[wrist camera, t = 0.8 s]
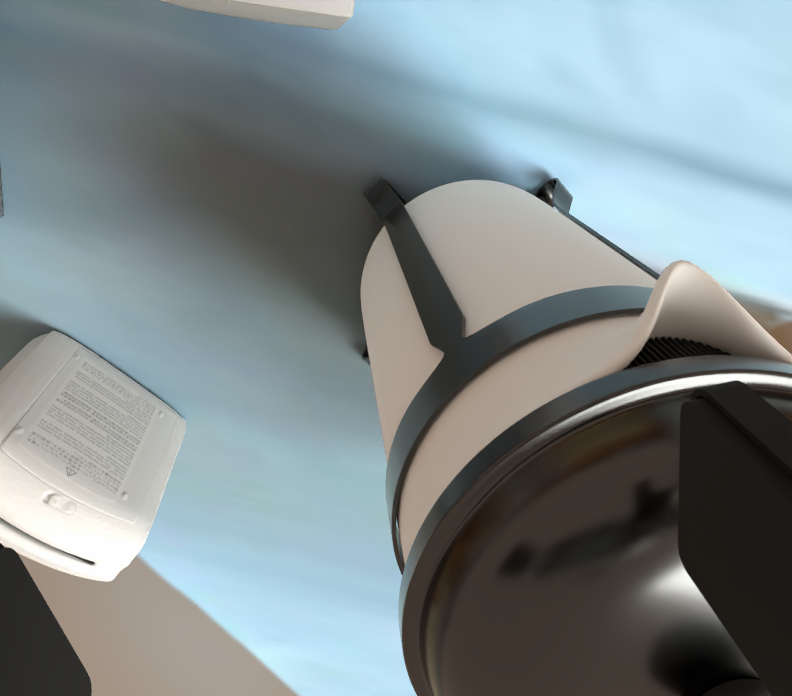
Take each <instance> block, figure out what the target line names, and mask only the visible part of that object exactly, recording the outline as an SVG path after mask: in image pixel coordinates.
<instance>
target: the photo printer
mask: <svg viewBox="0 0 792 696" xmlns="http://www.w3.org/2000/svg"><path fill="white" fill-rule="evenodd" d="M186 429H187V424H186V422H185V420H184V419H183V418H182V417H181V416H180V415H178V414H177V413H176V412H175V411H174V410H173V409H172V408H171V407H169V406H168V405H167V404H165V403H164V402H163V401H161V400H160V399H158V398H157V397H156V396H155V395H153V394H152V393H150V392H149V391H147V390H146V389H145V388H143V387H142V386H141V385H139V384H138V383H136V382H135V381H133V380H132V379H131V378H129V377H128V376H126V375H125V374H124V373H122V372H121V371H119V370H118V369H116V368H115V367H113V366H112V365H111V364H109V363H108V362H106V361H105V360H103V359H102V358H100V357H99V356H98V355H96V354H95V353H93V352H92V351H90V350H89V349H87V348H86V347H84V346H82V345H81V344H79V343H78V342H76V341H75V340H73V339H71V338H69V337H67V336H66V335H64V334H62V333H59V332H57V331H51V332H50V333H49V334H44V335H40V336H38V337H36V338H34V339H33V340H31V341H30V342H29V343H28V344H27V345H26V346H25V347H24V348H23V349H22V350H21V351H20V352H19V353H18V354H17V355H16V356H15V357H14V358H13V359H12V360H11V361H10V362H9V363H8V364H7V365H6V366H5V367H4V368H3V369H2V370H1V371H0V543H1V544H2V545H4V546H6V547H8V548H12V549H14V550H15V551H16V552H17V553H19V554H21V555H23V556H25V557H28V558H30V559H32V560H35V561H37V562H39V563H41V564H44V565H46V566H48V567H51V568H54V569H56V570H59V571H62V572H65V573H69V574H72V575H76V576H79V577H83V578H87V579H93V580H98V581H111V580H113V579H114V578H115V576H116V575H117V574H118V573H119V572H120V571H121V570H122V569H123V568H125V567H127V566H128V565H129V563H130V562H131V561H132V559H133V558H134V557H135V556H136V555H137V554H138V553H139V551H140V550H141V548H142V547H143V545H144V543H145V541H146V539H147V536H148V534H149V531H150V529H151V526H152V524H153V521H154V518H155V516H156V513H157V510H158V507H159V504H160V502H161V499H162V496H163V493H164V490H165V487H166V485H167V482H168V479H169V476H170V473H171V471H172V468H173V465H174V462H175V459H176V456H177V454H178V451H179V448H180V446H181V443H182V440H183V437H184V434H185V432H186Z"/></svg>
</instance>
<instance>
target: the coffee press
mask: <svg viewBox="0 0 792 696" xmlns="http://www.w3.org/2000/svg"><path fill="white" fill-rule="evenodd" d="M364 196H365V197H366V199H367V200H368V201H369V202H370V204H371V205H372V206H373V207H374V209H375V210H376V211H377V213H378V214H379V215H380V217H381V218H382V220H383V222H384V225H385V226H384V227H383V228H382V230H381V231H380V232H379V234H378V235H377V237H376V239H375V241H374V242H373V244H372V246H371V248H370V251H369V253H368V256H367V258H366V261H365V265H364V269H363V273H362V280H361V309H362V316H363V323H364V329H365V335H366V341H367V347H366V349H365V350H364V352H363V354H362V359H363V360H365V361H366V362H367V363H368V364H369V365H370V366H371V371H372V377H373V383H374V389H375V394H376V400H377V406H378V412H379V418H380V424H381V430H382V435H383V441H384V447H385V453H386V459H387V472H386V501H387V508H388V515H389V521H390V527H391V534H392V540H393V546H394V552H395V556H396V560H397V563H398V566H399V569H400V571H401V574H402V581H401V587H400V594H399V628H400V635H401V642H402V649H403V656H404V661H405V665H406V669H407V672H408V675H409V678H410V681H411V684H412V686H413V688H414V690H415V692H416V694H417V696H771V694H770V693H769V691H768V690H767V688H766V687H765V686H764V684H763V683H762V681H761V680H760V678H759V677H758V675H757V674H756V672H755V671H754V670H753V668H752V667H751V665H750V664H749V662H748V661H747V659H746V658H745V656H744V655H743V654H742V652H741V651H740V649H739V648H738V646H737V645H736V643H735V642H734V640H733V639H732V638H731V636H730V635H729V633H728V632H727V630H726V629H725V627H724V626H723V624H722V623H721V622H720V620H719V619H718V617H717V616H716V614H715V613H714V611H713V610H712V608H711V607H710V606H709V604H708V603H707V601H706V600H705V598H704V597H703V595H702V594H701V592H700V591H699V590H698V588H697V587H696V585H695V584H694V582H693V581H692V579H691V578H690V576H689V575H688V574H687V572H686V570H685V568H684V566H683V564H682V562H681V559H680V555H679V551H678V509H679V455H680V411H681V406H682V404H683V403H684V402H686V401H690V400H691V395H692V393H693V391H694V390H695V389H697V388H701V387H706V386H710V385H715V384H720V383H724V382H729V381H734V380H737V381H741V382H743V383H745V384H746V385H747V386H748V387H750V388H751V389H752V390H753V391H755V392H756V393H757V394H758V395H760V396H761V397H762V398H763V399H764V400H766V401H767V402H768V403H769V404H771V405H772V406H773V407H774V408H775V409H777V410H778V411H779V412H780V413H782V414H783V415H784V416H785V417H786V418H788V419H789V420H790V421H791V422H792V355H791V354H790V353H789V352H788V351H787V350H786V349H784V348H783V347H782V346H781V345H780V344H779V343H778V342H777V341H776V340H775V339H773V338H772V336H770V335H769V334H768V333H767V332H766V331H765V330H764V329H763V328H762V327H761V326H760V325H759V324H758V323H757V322H756V321H755V320H754V319H753V318H752V317H751V316H750V314H749V313H748V312H747V311H746V310H745V309H744V308H743V307H742V306H741V305H740V304H739V303H738V302H737V301H736V300H735V299H734V298H733V297H732V296H731V295H730V294H729V293H728V292H727V291H726V290H725V289H724V288H723V287H722V286H721V285H720V284H719V283H718V282H717V281H715V280H714V279H713V278H712V277H711V276H710V275H709V274H707V273H706V272H705V271H703V270H702V269H701V268H699V267H698V266H696V265H694V264H693V263H691V262H688V261H683V260H679V261H676V262H673V263H671V264H670V265H669V266H668V267H666V268H665V269H664V271H663V272H662V274H661V275H659V274H657V273H656V272H655V271H653V270H652V269H650V268H649V267H647V266H646V265H644V264H643V263H641V262H640V261H638V260H637V259H635V258H634V257H632V256H631V255H629V254H628V253H626V252H625V251H623V250H622V249H621V248H619V247H618V246H616V245H615V244H613V243H612V242H610V241H609V240H607V239H606V238H604V237H603V236H601V235H600V234H598V233H597V232H595V231H594V230H592V229H591V228H590V227H588V226H587V225H585V224H584V223H582V222H581V221H579V220H578V219H576V218H575V217H573V216H572V215H570V214H569V210H570V206H571V203H572V199H573V197H572V195H571V194H570V193H569V192H568V190H567V189H566V188H565V187H564V185H563V184H562V183H561V182H560V181H559V179H558V178H554V179H551V180H549V181H548V182H546V183H545V184H544V185H542V186H541V187H540V188H539V190H538V191H537V192H536V194H535V196H534V195H532V194H530V193H528V192H526V191H524V190H522V189H520V188H518V187H515V186H512V185H509V184H506V183H501V182H497V181H490V180H465V181H458V182H453V183H449V184H445V185H442V186H439V187H436V188H434V189H431V190H429V191H427V192H425V193H423V194H421V195H419V196H418V197H416V198H414V199H413V200H411V201H410V202H408V203H406V202H405V201H404V200H403V199H402V197H401V196H400V195H399V194H398V193H397V192H396V191H395V189H394V188H393V187H392V186H391V185H390V184H389V183H388V182H387V181H386V180H385V179H384V178H383V177H382V176H381V177H380V178H379V179H378V180H377V181H376V182H375V183H374V184H373V185H372V186H371V187H370V188H369V189H368V190H367V191H366V192H365V193H364ZM553 206H554V207H555V208H556V209H557V210H558V211H559V212H558V211H557V210H555V209H554V208H553ZM396 517H397V523H398V529H399V532H398V530H397V527H396ZM399 534H400V535H399Z"/></svg>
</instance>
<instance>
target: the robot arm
mask: <svg viewBox="0 0 792 696" xmlns="http://www.w3.org/2000/svg"><path fill="white" fill-rule="evenodd" d="M678 551H679V555H680V559H681V562H682V564H683V566H684V568H685V570H686V572H687V574H688V575H689V576H690V578H691V579H692V581H693V582H694V584H695V585H696V587H697V588H698V590H699V591H700V592H701V594H702V595H703V597H704V598H705V600H706V601H707V603H708V604H709V606H710V607H711V608H712V610H713V611H714V613H715V614H716V616H717V617H718V619H719V620H720V622H721V623H722V624H723V626H724V627H725V629H726V630H727V632H728V633H729V635H730V636H731V638H732V639H733V640H734V642H735V643H736V645H737V646H738V648H739V649H740V651H741V652H742V654H743V655H744V656H745V658H746V659H747V661H748V662H749V664H750V665H751V667H752V668H753V670H754V671H755V672H756V674H757V675H758V677H759V678H760V680H761V681H762V683H763V684H764V686H765V687H766V688H767V690H768V691H769V693H770V694H771V696H792V422H791V421H790V420H789V419H788V418H786V417H785V416H784V415H783V414H782V413H780V412H779V411H778V410H777V409H775V408H774V407H773V406H772V405H771V404H769V403H768V402H767V401H766V400H764V399H763V398H762V397H761V396H760V395H758V394H757V393H756V392H755V391H753V390H752V389H751V388H750V387H748V386H747V385H746V384H745V383H743V382H741V381H737V380H734V381H729V382H724V383H720V384H715V385H710V386H706V387H701V388H697V389H695V390H694V391H693V393H692V395H691V400H690V401H686V402H684V403H683V404H682V406H681V411H680V455H679V509H678ZM91 692H92V691H91V681H90V678H89V676H88V673H87V671H86V670H85V668H84V666H83V664H82V663H81V661H80V659H79V658H78V656H77V654H76V653H75V651H74V649H73V647H72V646H71V644H70V643H69V641H68V639H67V637H66V635H65V634H64V632H63V630H62V629H61V627H60V625H59V623H58V622H57V620H56V618H55V617H54V615H53V613H52V611H51V610H50V608H49V606H48V605H47V603H46V601H45V600H44V598H43V596H42V594H41V593H40V591H39V590H38V588H37V586H36V584H35V583H34V581H33V579H32V577H31V576H30V574H29V572H28V571H27V569H26V567H25V565H24V564H23V562H22V560H21V559H20V557H19V555H18V554H17V553H16V551H15V550H14V549H12V548H4V546H3V545H2V544H1V543H0V696H91Z"/></svg>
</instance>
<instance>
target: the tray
mask: <svg viewBox="0 0 792 696" xmlns="http://www.w3.org/2000/svg"><path fill="white" fill-rule="evenodd" d="M2 216H4V213H3V198H2V182H1V167H0V218H1V217H2Z"/></svg>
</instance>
